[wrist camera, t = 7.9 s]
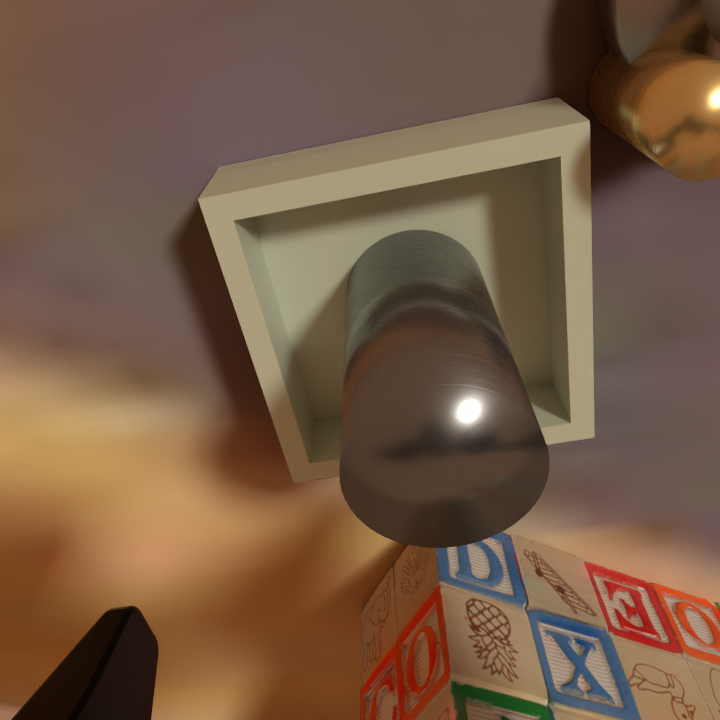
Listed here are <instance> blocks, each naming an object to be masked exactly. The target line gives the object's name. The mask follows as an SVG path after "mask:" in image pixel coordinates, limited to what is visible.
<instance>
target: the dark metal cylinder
mask: <svg viewBox="0 0 720 720" xmlns="http://www.w3.org/2000/svg"><path fill="white" fill-rule="evenodd" d="M339 472H340V484H341V489H342V492H343V495H344V498H345V500H346V502H347V504H348V505H349V507H350V509H351V510H352V511H353V512H354V514H355V515H356V516H357V517H358V518H359V519H360V520H361V521H362V522H363V523H364V524H365V525H367V526H368V527H369V528H371V529H372V530H373V531H375V532H377V533H379V534H381V535H382V536H384V537H387V538H389V539H391V540H394V541H397V542H400V543H404V544H407V545H413V546H418V547H428V548H447V547H457V546H462V545H468V544H472V543H475V542H479V541H482V540H485V539H487V538H490V537H492V536H494V535H496V534H498V533H500V532H502V531H504V530H506V529H507V528H509V527H511V526H512V525H514V524H515V523H516V522H517V521H519V520H520V519H521V518H522V517H524V515H525V514H526V513H527V512H528V511H529V510H530V509H531V508H532V507H533V506H534V504H535V503H536V502H537V500H538V499H539V497H540V495H541V493H542V492H543V490H544V487H545V484H546V482H547V478H548V473H549V453H548V448H547V445H546V442H545V439H544V436H543V434H542V431H541V428H540V426H539V423H538V420H537V418H536V415H535V413H534V410H533V407H532V405H531V402H530V399H529V397H528V394H527V392H526V389H525V386H524V384H523V381H522V378H521V376H520V373H519V371H518V368H517V365H516V363H515V360H514V357H513V355H512V352H511V349H510V347H509V344H508V342H507V339H506V336H505V334H504V331H503V328H502V326H501V323H500V321H499V318H498V315H497V313H496V310H495V307H494V305H493V302H492V300H491V297H490V294H489V292H488V289H487V286H486V284H485V281H484V279H483V276H482V273H481V271H480V268H479V266H478V264H477V262H476V260H475V259H474V257H473V256H472V254H471V253H470V252H469V251H468V250H467V249H466V248H465V247H464V246H463V245H462V244H460V243H459V242H458V241H456V240H454V239H453V238H451V237H449V236H447V235H444V234H442V233H438V232H434V231H429V230H407V231H402V232H398V233H394V234H391V235H389V236H386V237H384V238H382V239H381V240H379V241H377V242H376V243H374V244H373V245H372V246H370V247H369V248H368V249H367V250H366V251H365V252H364V253H363V254H362V255H361V256H360V258H359V259H358V260H357V262H356V263H355V265H354V267H353V269H352V271H351V273H350V276H349V279H348V283H347V290H346V315H345V340H344V366H343V392H342V417H341V443H340V469H339Z"/></svg>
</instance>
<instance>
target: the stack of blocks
mask: <svg viewBox="0 0 720 720" xmlns="http://www.w3.org/2000/svg"><path fill="white" fill-rule="evenodd" d="M360 643H361V678H362V687H361V690H360V718H361V720H720V603H712V602H709V601H707V600H705V599H701V598H697V597H694V596H690V595H687V594H685V593H682V592H679V591H676V590H673V589H670V588H667V587H664V586H661V585H658V584H655V583H647V582H645V581H643V580H639V579H636V578H633V577H630V576H628V575H625V574H622V573H619V572H616V571H613V570H609V569H606V568H604V567H601V566H597V565H594V564H591V563H588V562H583V561H582V559H580V558H579V557H576V556H573V555H570V554H567V553H564V552H561V551H558V550H554V549H551V548H548V547H545V546H542V545H540V544H537V543H534V542H531V541H528V540H525V539H522V538H519V537H515V536H510V535H507V534H505V533H503V532H500V533H498V534H496V535H494V536H492V537H490V538H487V539H485V540H482V541H479V542H475V543H472V544H468V545H462V546H457V547H447V548H428V547H418V546H413V545H407V547H406V548H405V550H404V551H403V552H402V554H401V555H400V557H399V558H398V560H397V561H396V563H395V565H394V566H392V567H391V568H390V570H389V571H388V572H387V574H386V575H385V577H384V578H383V580H382V581H381V583H380V584H379V586H378V587H377V589H376V590H375V592H374V593H373V595H372V596H371V597H370V599H369V601H368V602H367V604H366V606H365V607H364V609H363V611H362V613H361V621H360Z"/></svg>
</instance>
